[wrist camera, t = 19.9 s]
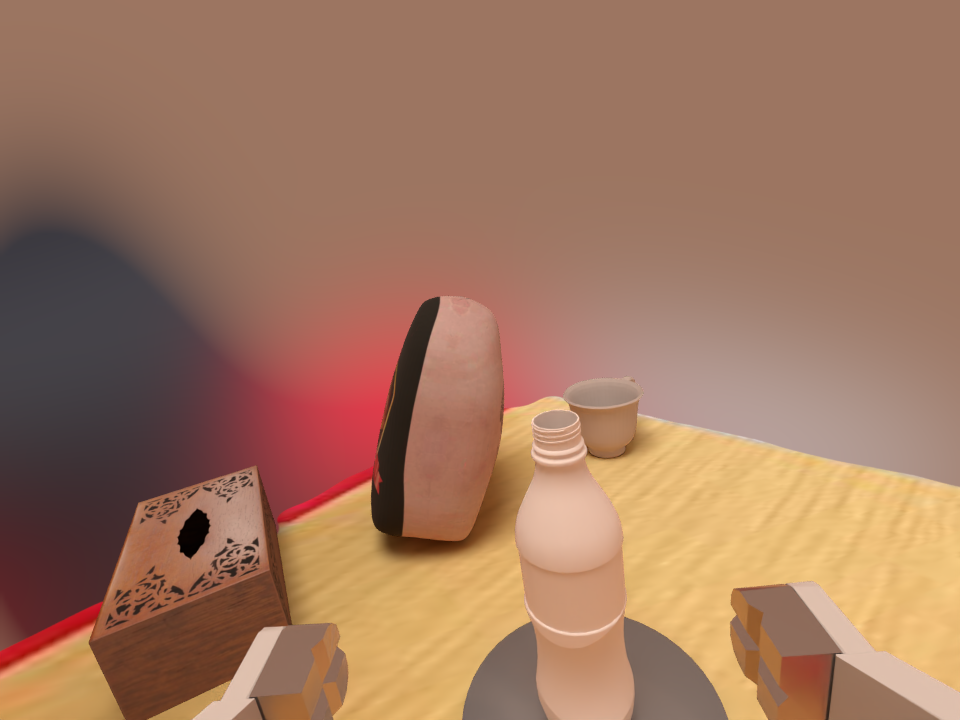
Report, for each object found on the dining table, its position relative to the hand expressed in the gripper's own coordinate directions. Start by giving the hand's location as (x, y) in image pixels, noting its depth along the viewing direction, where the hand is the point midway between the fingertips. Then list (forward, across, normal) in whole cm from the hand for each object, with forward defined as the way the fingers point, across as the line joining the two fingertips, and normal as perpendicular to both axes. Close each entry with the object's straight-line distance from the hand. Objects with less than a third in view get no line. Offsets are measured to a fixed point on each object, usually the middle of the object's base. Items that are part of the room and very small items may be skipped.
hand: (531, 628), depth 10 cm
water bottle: (+20, -3, +30) cm, 36 cm away
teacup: (+64, -15, +32) cm, 73 cm away
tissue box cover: (+38, +37, +32) cm, 62 cm away
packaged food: (+50, +10, +32) cm, 61 cm away
